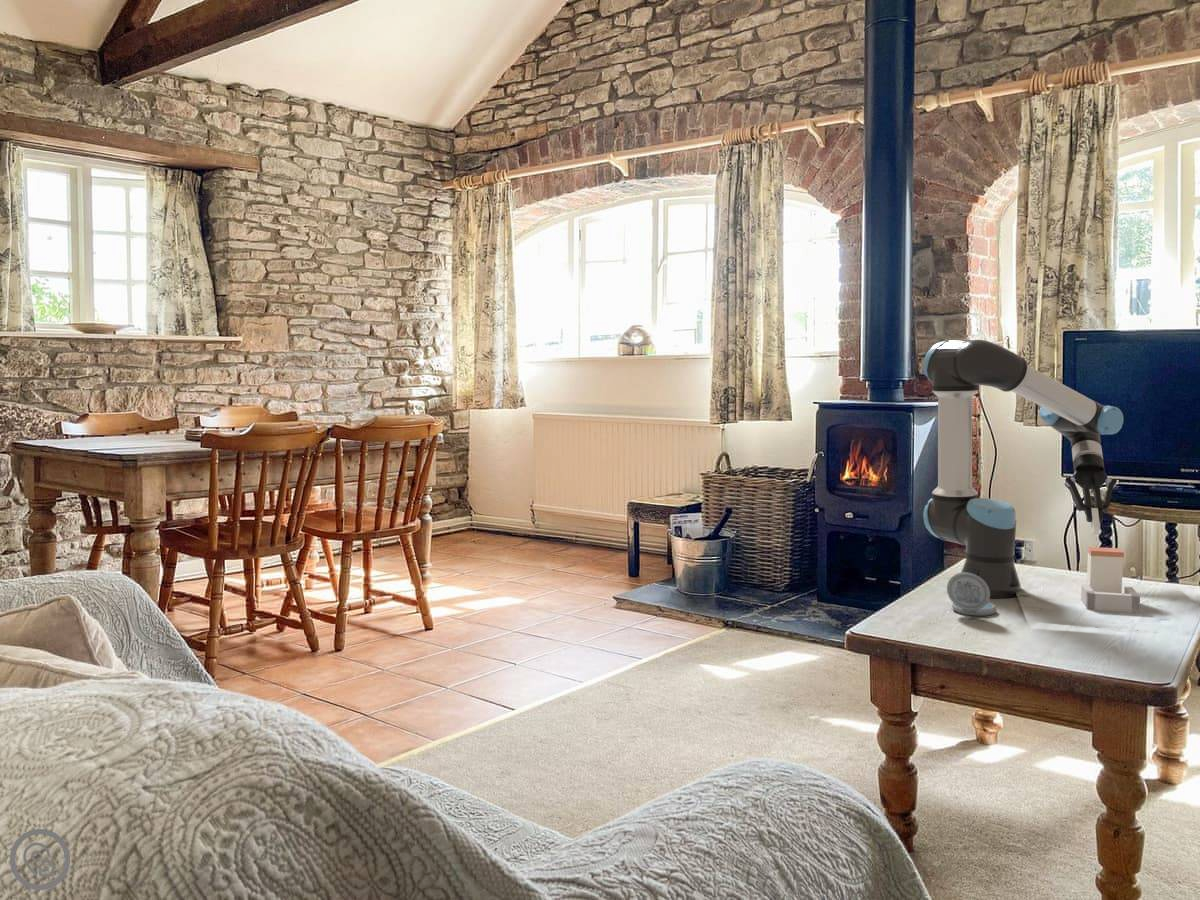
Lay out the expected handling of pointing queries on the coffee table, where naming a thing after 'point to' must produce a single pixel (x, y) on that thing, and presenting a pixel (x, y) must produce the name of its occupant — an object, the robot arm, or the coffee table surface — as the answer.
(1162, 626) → the coffee table surface
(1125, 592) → the base
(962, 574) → the embossed oval plaque stand
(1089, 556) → the orange-topped white block
